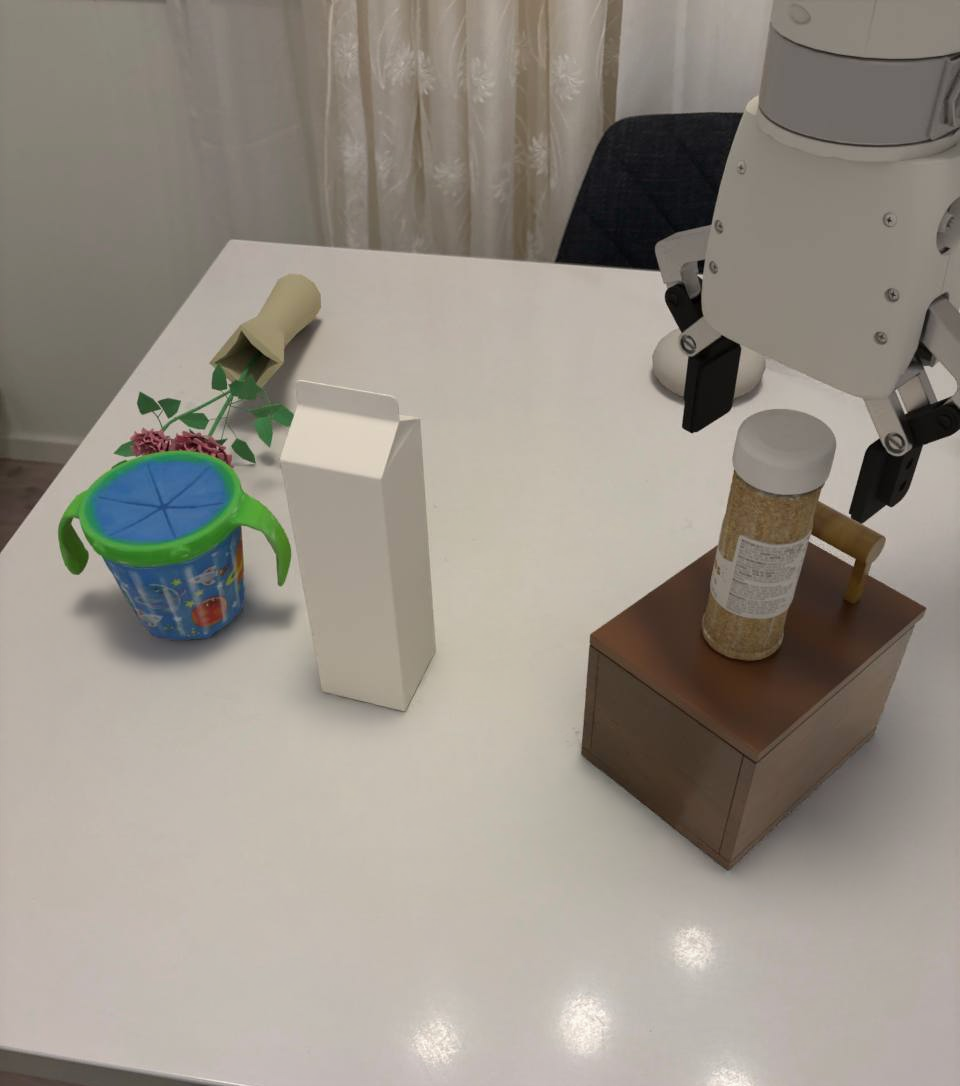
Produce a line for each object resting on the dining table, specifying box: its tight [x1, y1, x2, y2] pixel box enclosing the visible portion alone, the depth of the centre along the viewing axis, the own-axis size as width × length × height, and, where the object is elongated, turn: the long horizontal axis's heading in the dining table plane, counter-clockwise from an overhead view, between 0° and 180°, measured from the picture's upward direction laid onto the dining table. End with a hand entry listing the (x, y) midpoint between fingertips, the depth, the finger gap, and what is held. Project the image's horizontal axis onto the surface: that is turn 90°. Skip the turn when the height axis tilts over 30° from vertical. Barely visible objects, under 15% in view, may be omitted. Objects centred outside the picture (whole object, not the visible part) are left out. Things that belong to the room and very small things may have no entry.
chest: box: [580, 624, 916, 871], centre depth 64 cm, size 15×12×10 cm
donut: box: [651, 327, 767, 399], centre depth 96 cm, size 10×4×10 cm
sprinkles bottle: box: [701, 408, 837, 661], centre depth 55 cm, size 5×5×13 cm
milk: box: [279, 379, 437, 712], centre depth 65 cm, size 6×6×22 cm
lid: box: [589, 500, 927, 762], centre depth 59 cm, size 15×12×6 cm
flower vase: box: [110, 273, 322, 470], centre depth 91 cm, size 12×12×35 cm
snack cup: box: [57, 451, 292, 641], centre depth 74 cm, size 16×10×10 cm
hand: (785, 462), depth 52 cm, fingers open, 9 cm apart
